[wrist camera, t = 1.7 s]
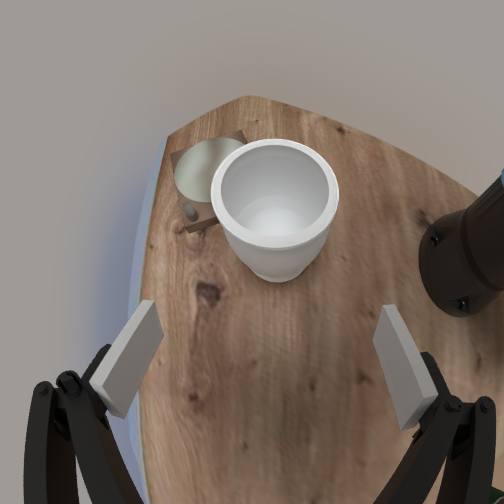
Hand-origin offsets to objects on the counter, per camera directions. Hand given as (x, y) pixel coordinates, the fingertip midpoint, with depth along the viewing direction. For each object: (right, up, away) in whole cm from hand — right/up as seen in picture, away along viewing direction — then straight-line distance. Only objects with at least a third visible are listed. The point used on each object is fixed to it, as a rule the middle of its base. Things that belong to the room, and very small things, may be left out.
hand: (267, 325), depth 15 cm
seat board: (-6, +15, +25) cm, 30 cm away
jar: (+2, +4, +20) cm, 21 cm away
